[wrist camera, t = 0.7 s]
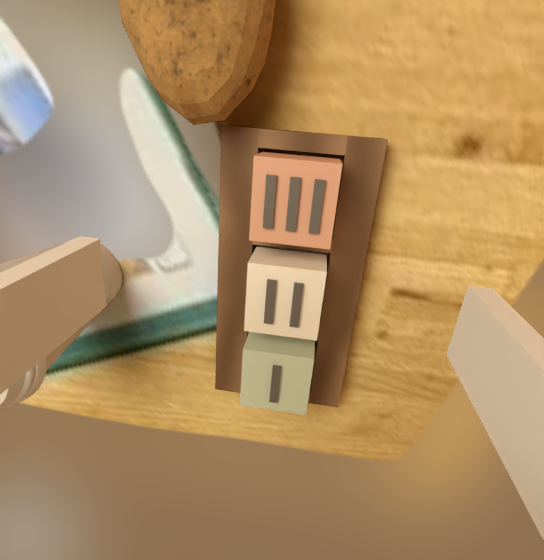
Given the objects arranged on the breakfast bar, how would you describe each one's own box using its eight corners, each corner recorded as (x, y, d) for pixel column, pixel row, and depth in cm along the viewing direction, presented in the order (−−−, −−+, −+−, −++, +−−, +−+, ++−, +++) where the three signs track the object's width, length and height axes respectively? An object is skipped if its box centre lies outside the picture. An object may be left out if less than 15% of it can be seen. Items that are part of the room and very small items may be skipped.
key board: (220, 376, 39) (215, 389, 37) (227, 125, 29) (221, 125, 28) (337, 393, 38) (338, 407, 36) (383, 138, 28) (387, 139, 26)
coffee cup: (152, 256, 34) (39, 343, 21) (118, 332, 38) (3, 448, 24) (58, 202, 34) (-126, 256, 20) (32, 285, 37) (-138, 379, 24)
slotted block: (248, 377, 36) (239, 407, 32) (251, 324, 34) (242, 351, 30) (307, 385, 36) (305, 417, 32) (315, 333, 34) (314, 361, 30)
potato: (161, 124, 30) (109, 124, 23) (139, -108, 25) (61, -208, 17) (283, 125, 29) (269, 125, 22) (288, -118, 24) (272, -227, 16)
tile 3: (257, 226, 31) (248, 241, 27) (262, 151, 28) (252, 156, 24) (329, 234, 30) (330, 250, 26) (340, 158, 28) (342, 164, 24)
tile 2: (252, 308, 34) (243, 332, 30) (256, 246, 31) (247, 264, 27) (317, 316, 33) (316, 342, 29) (326, 254, 31) (326, 273, 27)
